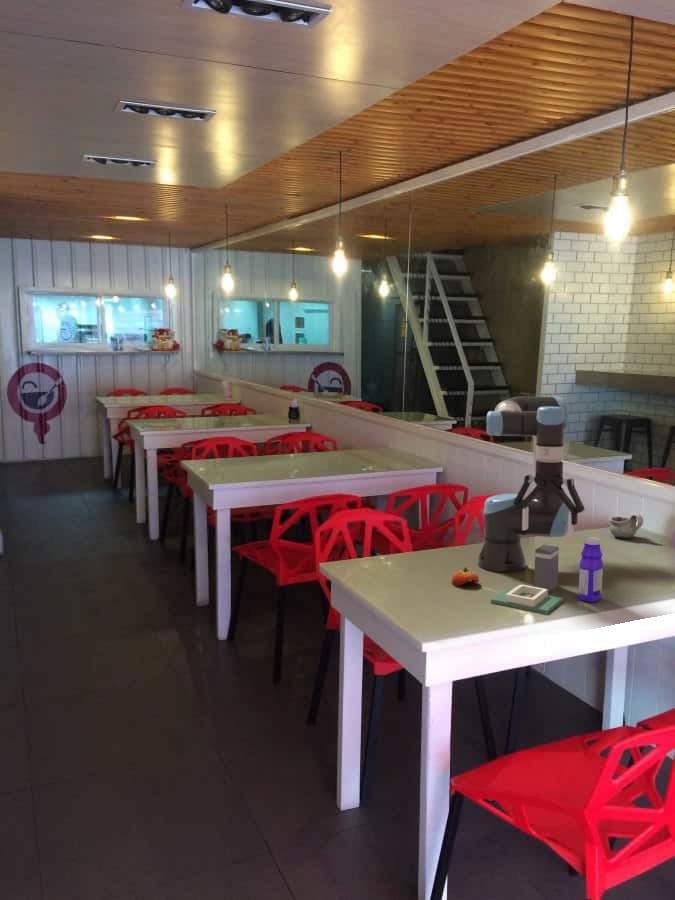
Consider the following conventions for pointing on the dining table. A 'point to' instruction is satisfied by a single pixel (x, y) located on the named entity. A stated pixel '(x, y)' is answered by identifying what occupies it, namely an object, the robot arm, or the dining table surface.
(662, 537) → the dining table surface
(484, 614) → the dining table surface
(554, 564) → the plug
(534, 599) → the header board
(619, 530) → the mug
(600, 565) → the bottle
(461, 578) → the tomato
